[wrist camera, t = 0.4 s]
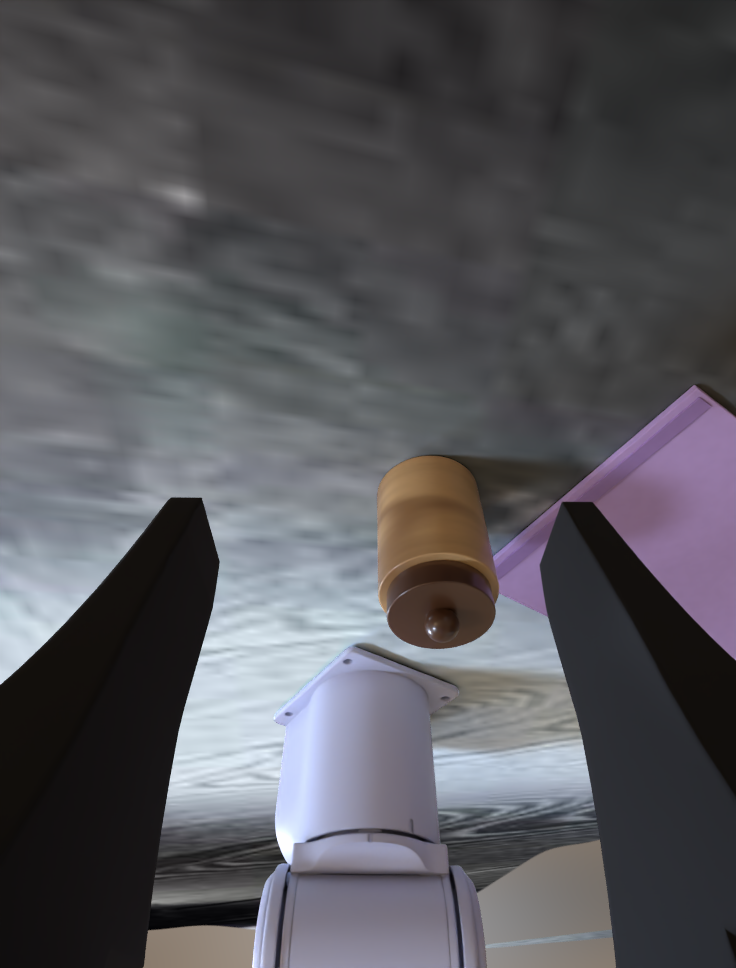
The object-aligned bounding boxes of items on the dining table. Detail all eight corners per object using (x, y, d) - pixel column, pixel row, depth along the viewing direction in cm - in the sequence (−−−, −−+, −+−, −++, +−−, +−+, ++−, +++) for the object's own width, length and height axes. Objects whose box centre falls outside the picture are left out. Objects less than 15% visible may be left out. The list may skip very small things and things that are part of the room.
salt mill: (435, 544, 27) (453, 688, 21) (358, 505, 25) (353, 649, 20) (498, 484, 25) (537, 629, 19) (416, 437, 23) (431, 579, 17)
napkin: (718, 695, 35) (721, 701, 35) (470, 575, 28) (471, 581, 28) (947, 580, 28) (953, 586, 28) (694, 384, 21) (698, 389, 21)
